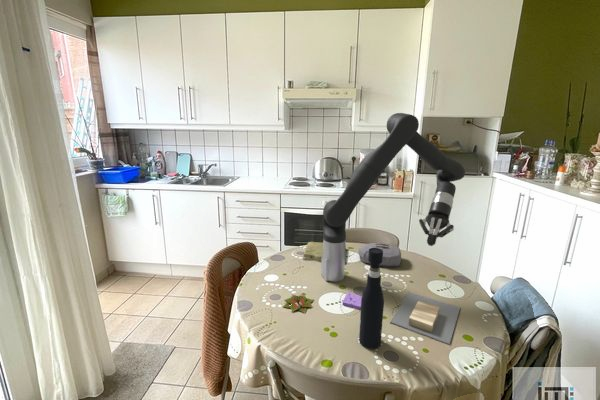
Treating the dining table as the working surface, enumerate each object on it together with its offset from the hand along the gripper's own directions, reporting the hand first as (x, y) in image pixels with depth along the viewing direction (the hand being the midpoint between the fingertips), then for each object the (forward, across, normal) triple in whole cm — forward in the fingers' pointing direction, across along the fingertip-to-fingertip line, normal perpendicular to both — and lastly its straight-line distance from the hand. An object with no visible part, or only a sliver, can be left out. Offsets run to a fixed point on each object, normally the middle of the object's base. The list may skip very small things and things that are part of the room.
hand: (430, 244), depth 113 cm
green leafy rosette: (+39, -36, -9) cm, 54 cm away
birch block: (+21, +4, +4) cm, 22 cm away
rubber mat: (+24, +4, +4) cm, 25 cm away
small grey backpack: (+3, -25, +26) cm, 36 cm away
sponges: (+30, -17, 0) cm, 34 cm away
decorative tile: (+10, -50, +20) cm, 54 cm away
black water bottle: (+41, -7, -12) cm, 44 cm away
